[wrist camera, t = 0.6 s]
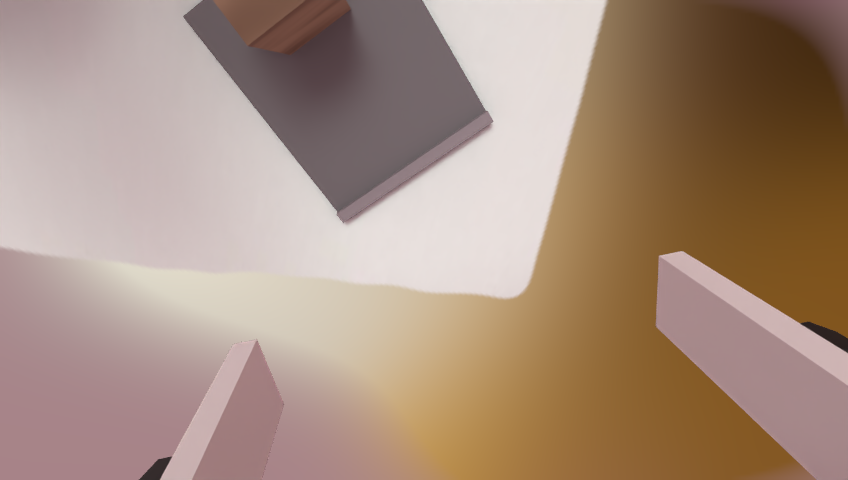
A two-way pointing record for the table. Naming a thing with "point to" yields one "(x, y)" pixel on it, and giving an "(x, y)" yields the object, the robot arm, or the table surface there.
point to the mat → (355, 96)
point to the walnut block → (281, 21)
